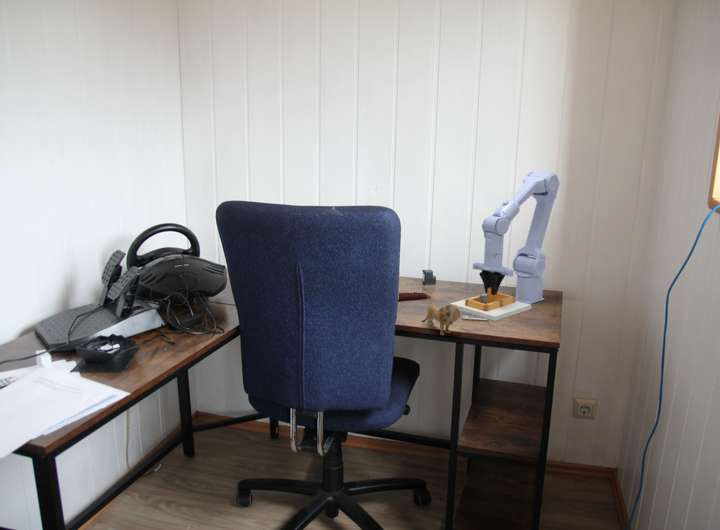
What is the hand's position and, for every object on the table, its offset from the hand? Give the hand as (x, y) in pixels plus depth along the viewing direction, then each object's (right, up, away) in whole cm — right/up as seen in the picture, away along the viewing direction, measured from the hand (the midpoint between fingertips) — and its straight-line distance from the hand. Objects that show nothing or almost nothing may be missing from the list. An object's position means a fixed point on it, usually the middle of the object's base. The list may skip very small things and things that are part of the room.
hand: (491, 293), depth 176 cm
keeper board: (0, -5, +1) cm, 5 cm away
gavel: (-28, -3, +10) cm, 30 cm away
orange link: (0, -3, +1) cm, 3 cm away
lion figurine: (-20, -10, -20) cm, 30 cm away
